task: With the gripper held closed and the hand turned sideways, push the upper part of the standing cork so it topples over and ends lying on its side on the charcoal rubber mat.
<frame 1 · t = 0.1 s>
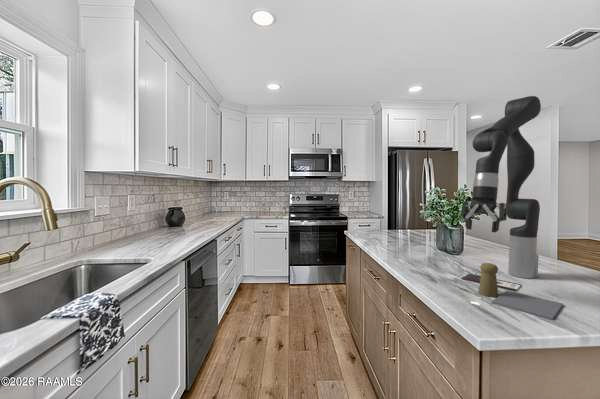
hand: (481, 230, 101), 22 cm above the worktop, tool pointing down, fingers open, 8 cm apart
cork: (488, 294, 100), on the worktop
chocolate bar: (490, 283, 112), on the worktop
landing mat: (527, 304, 91), on the worktop
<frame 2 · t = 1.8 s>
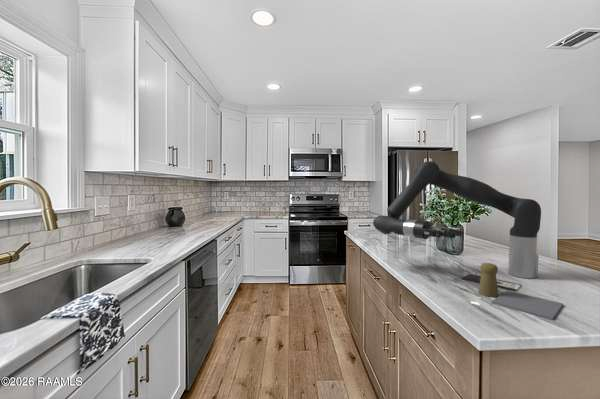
hand: (458, 234, 107), 20 cm above the worktop, tool horizontal, fingers open, 5 cm apart
nothing on the worktop moved.
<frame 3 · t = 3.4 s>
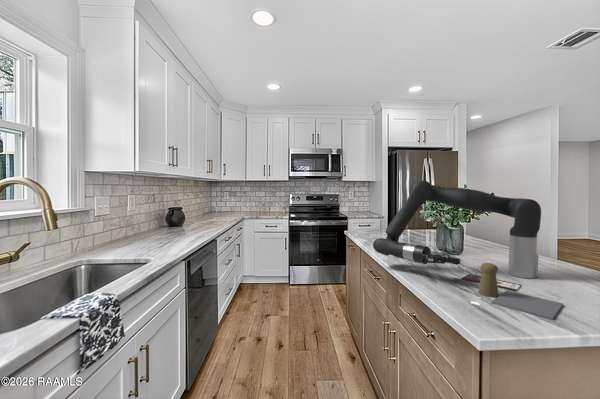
hand: (459, 261, 107), 10 cm above the worktop, tool horizontal, fingers closed
nothing on the worktop moved.
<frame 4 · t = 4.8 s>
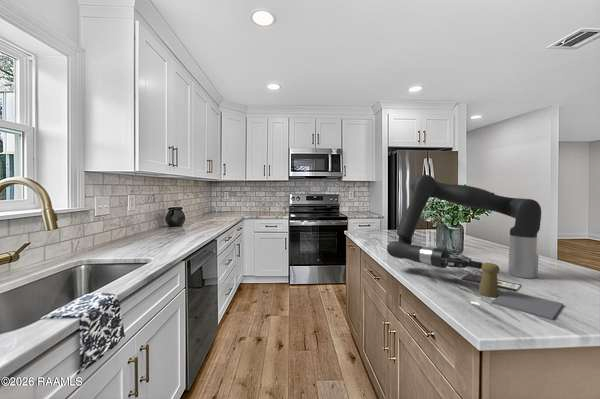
hand: (482, 265, 101), 10 cm above the worktop, tool horizontal, fingers closed
cork: (488, 294, 100), on the worktop, touching gripper
everything else where it was.
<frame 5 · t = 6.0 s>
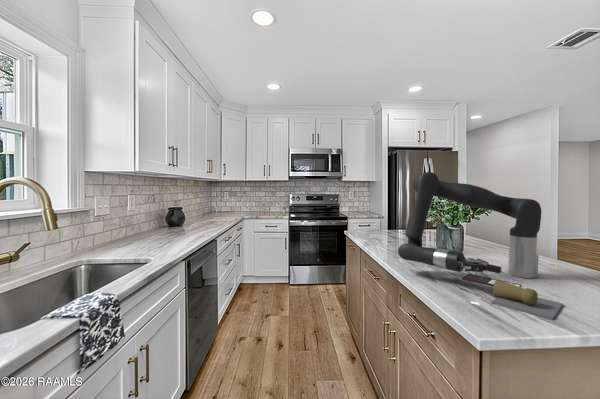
hand: (500, 270, 97), 9 cm above the worktop, tool horizontal, fingers closed
cork: (496, 288, 97), point 3 cm above the worktop, touching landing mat
everything else where it was.
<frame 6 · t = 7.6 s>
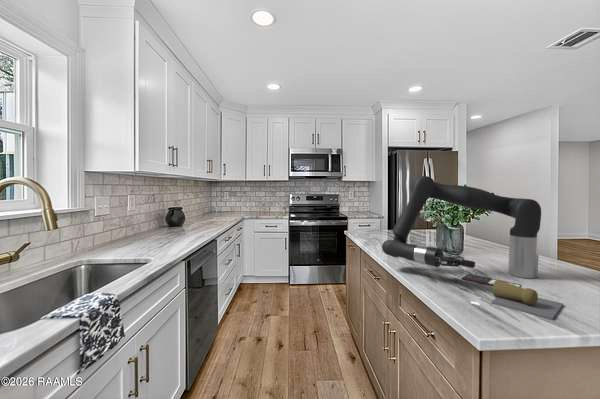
hand: (474, 264, 103), 10 cm above the worktop, tool horizontal, fingers closed
nothing on the worktop moved.
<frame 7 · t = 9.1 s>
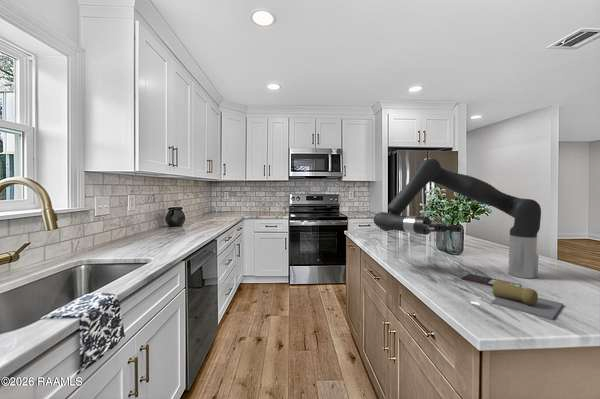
hand: (460, 229, 106), 22 cm above the worktop, tool horizontal, fingers closed
nothing on the worktop moved.
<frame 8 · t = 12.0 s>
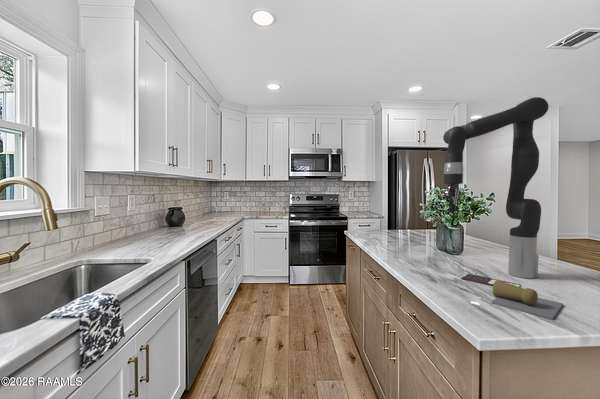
hand: (452, 212, 125), 27 cm above the worktop, tool pointing down, fingers closed
nothing on the worktop moved.
at the end: cork tilted 89°; cork touching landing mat, worktop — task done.
